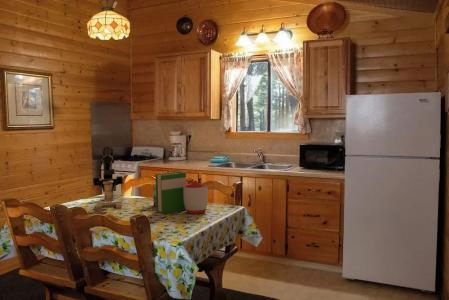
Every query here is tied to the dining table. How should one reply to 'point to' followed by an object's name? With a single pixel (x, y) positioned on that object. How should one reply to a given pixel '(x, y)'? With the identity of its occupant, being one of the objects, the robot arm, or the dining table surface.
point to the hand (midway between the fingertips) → (108, 191)
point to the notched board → (109, 205)
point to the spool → (108, 191)
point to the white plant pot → (195, 197)
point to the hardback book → (170, 192)
